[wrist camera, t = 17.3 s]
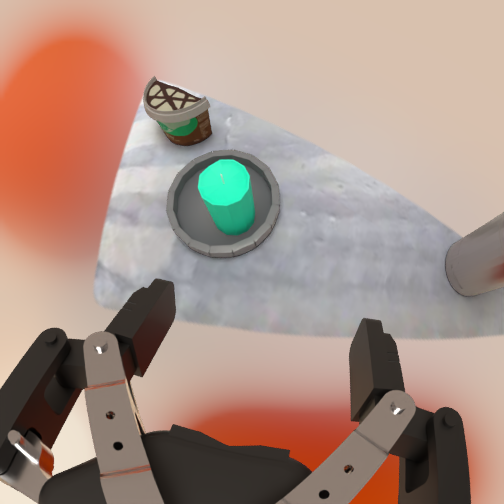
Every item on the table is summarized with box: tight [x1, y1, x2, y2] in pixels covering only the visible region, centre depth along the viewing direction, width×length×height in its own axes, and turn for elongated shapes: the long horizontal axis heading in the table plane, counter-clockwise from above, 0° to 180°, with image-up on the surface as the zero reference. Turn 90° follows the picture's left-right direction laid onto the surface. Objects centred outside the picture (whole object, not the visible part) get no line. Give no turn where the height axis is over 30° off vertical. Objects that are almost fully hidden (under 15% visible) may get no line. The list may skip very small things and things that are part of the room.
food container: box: [143, 76, 212, 146], centre depth 45 cm, size 12×6×10 cm, turn 54°
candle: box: [198, 160, 255, 236], centre depth 38 cm, size 6×6×12 cm
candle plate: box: [166, 150, 280, 258], centre depth 44 cm, size 16×16×3 cm
